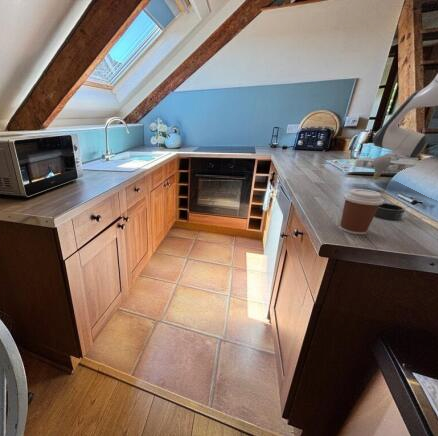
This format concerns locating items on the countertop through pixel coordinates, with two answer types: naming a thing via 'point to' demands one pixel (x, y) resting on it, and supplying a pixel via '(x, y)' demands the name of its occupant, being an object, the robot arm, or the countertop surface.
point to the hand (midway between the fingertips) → (379, 166)
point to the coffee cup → (359, 210)
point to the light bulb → (380, 165)
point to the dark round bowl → (389, 212)
